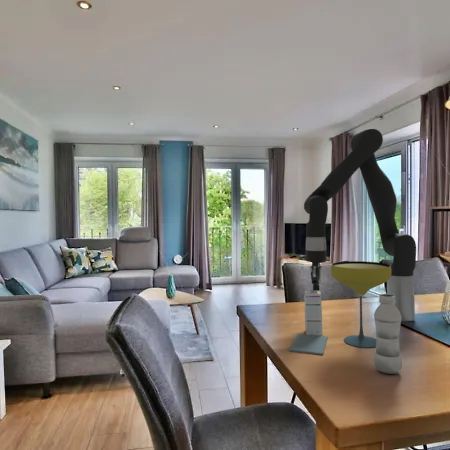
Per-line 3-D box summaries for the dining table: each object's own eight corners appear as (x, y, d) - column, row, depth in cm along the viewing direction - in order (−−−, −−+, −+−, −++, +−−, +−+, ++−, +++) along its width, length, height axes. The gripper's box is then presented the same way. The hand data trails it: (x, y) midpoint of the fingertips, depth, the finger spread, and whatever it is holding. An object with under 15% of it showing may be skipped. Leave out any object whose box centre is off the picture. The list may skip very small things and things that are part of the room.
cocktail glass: (370, 330, 123) (369, 260, 123) (405, 349, 105) (404, 267, 105) (322, 334, 120) (321, 262, 120) (350, 355, 102) (348, 270, 102)
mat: (327, 338, 117) (327, 336, 117) (323, 355, 103) (322, 353, 103) (297, 335, 120) (297, 333, 120) (289, 351, 106) (289, 349, 106)
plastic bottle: (369, 367, 94) (368, 293, 94) (393, 365, 95) (392, 292, 94) (382, 378, 88) (380, 298, 87) (407, 376, 88) (406, 297, 88)
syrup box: (322, 336, 119) (322, 293, 119) (305, 335, 120) (304, 293, 120) (321, 330, 125) (321, 290, 124) (304, 330, 126) (304, 289, 125)
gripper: (324, 250, 124) (324, 299, 125) (327, 247, 137) (328, 291, 137) (303, 250, 127) (303, 297, 128) (308, 247, 139) (308, 290, 140)
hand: (316, 294), depth 132 cm, fingers closed
